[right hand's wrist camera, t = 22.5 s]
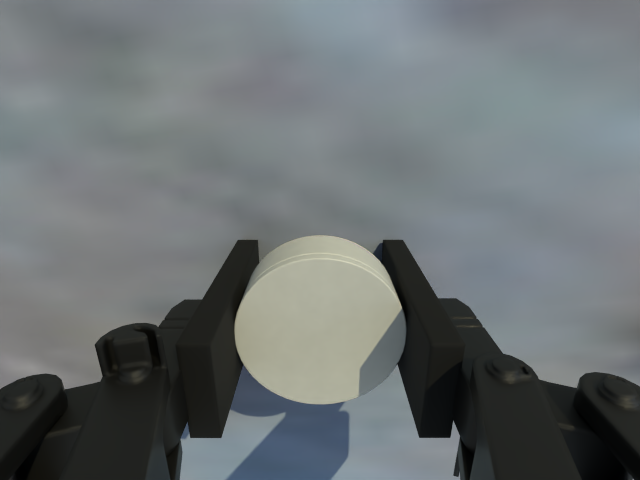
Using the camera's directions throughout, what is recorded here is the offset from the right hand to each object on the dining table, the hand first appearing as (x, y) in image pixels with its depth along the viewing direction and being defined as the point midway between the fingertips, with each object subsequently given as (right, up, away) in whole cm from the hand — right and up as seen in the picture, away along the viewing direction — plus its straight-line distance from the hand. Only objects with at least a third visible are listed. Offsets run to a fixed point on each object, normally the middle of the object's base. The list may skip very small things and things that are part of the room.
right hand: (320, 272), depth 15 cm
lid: (0, -1, -4) cm, 4 cm away
